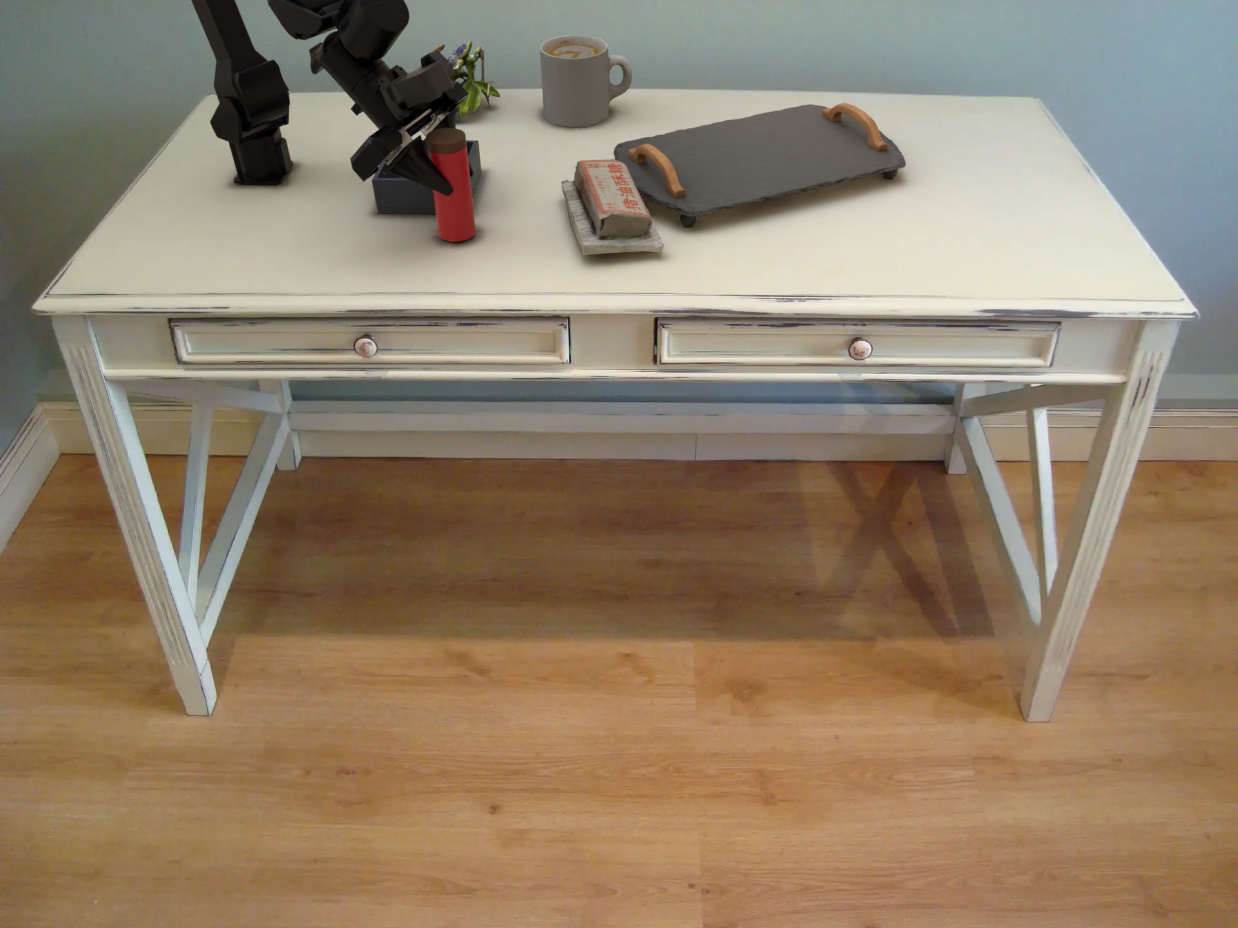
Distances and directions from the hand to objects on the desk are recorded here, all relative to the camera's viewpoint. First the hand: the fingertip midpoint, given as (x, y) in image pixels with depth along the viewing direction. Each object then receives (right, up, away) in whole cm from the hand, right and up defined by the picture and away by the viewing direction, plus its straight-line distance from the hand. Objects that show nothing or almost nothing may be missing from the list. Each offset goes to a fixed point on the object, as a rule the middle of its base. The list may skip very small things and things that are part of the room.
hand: (461, 185), depth 122 cm
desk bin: (-6, +3, +14) cm, 15 cm away
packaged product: (+18, -3, +6) cm, 19 cm away
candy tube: (-1, -5, +5) cm, 7 cm away
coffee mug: (+14, +20, +33) cm, 41 cm away
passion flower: (-5, +22, +35) cm, 42 cm away
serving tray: (+38, +6, +18) cm, 42 cm away
